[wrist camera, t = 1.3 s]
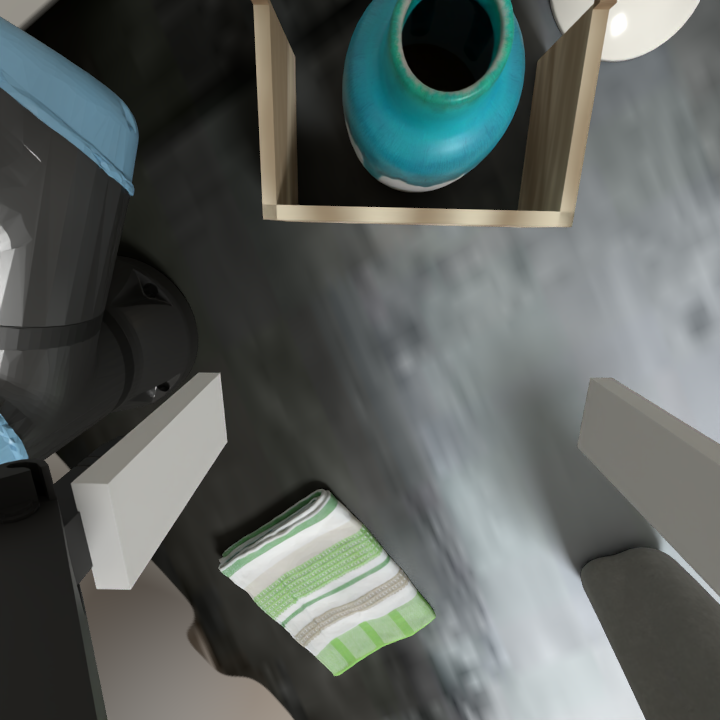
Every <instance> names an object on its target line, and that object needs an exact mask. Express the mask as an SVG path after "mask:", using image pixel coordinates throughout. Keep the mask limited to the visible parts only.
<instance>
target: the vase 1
mask: <svg viewBox="0 0 720 720" xmlns="http://www.w3.org/2000/svg"><path fill="white" fill-rule="evenodd" d="M524 74H525V50H524V44H523V38H522V34H521V30H520V27H519V24H518V21H517V19H516V17H515V15H514V13H513V7H512V4H511V0H373V1H372V2H371V3H370V4H369V5H368V7H367V8H366V10H365V12H364V13H363V15H362V16H361V18H360V20H359V21H358V23H357V26H356V28H355V30H354V33H353V35H352V37H351V40H350V44H349V47H348V51H347V55H346V58H345V65H344V72H343V81H342V100H343V109H344V116H345V123H346V127H347V131H348V134H349V138H350V141H351V144H352V146H353V148H354V150H355V153H356V155H357V157H358V158H359V160H360V161H361V163H362V164H363V166H364V167H365V168H366V170H367V171H368V172H369V173H370V174H371V175H372V176H373V177H374V178H376V179H377V180H378V181H379V182H381V183H382V184H384V185H386V186H388V187H389V188H392V189H395V190H398V191H403V192H408V193H421V192H427V191H432V190H435V189H438V188H441V187H444V186H446V185H448V184H450V183H452V182H454V181H456V180H458V179H459V178H461V177H462V176H464V175H465V174H466V173H468V172H469V171H471V170H472V169H473V168H475V167H476V166H477V165H478V164H479V163H480V162H481V161H482V160H483V159H484V158H485V157H486V156H487V155H488V154H489V153H490V152H491V151H492V150H493V148H494V147H495V146H496V144H497V143H498V142H499V140H500V139H501V138H502V136H503V135H504V133H505V131H506V129H507V128H508V126H509V124H510V122H511V120H512V119H513V116H514V114H515V111H516V109H517V106H518V104H519V100H520V96H521V92H522V88H523V83H524Z"/></svg>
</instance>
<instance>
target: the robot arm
mask: <svg viewBox="0 0 720 720" xmlns="http://www.w3.org/2000/svg"><path fill="white" fill-rule="evenodd" d="M138 137H139V135H138V127H137V124H136V121H135V118H134V116H133V114H132V113H131V111H130V110H129V108H128V107H127V105H126V104H125V103H124V102H123V101H122V100H121V99H120V98H119V97H118V96H117V95H116V94H115V93H114V92H112V91H111V90H110V89H109V88H108V87H106V86H105V85H104V84H102V83H101V82H100V81H98V80H97V79H95V78H94V77H93V76H91V75H90V74H89V73H87V72H86V71H84V70H83V69H81V68H80V67H78V66H77V65H75V64H74V63H72V62H71V61H69V60H68V59H66V58H65V57H63V56H62V55H60V54H59V53H57V52H56V51H54V50H53V49H51V48H49V47H48V46H46V45H45V44H43V43H42V42H40V41H38V40H37V39H35V38H34V37H32V36H31V35H29V34H28V33H26V32H24V31H23V30H21V29H19V28H18V27H16V26H15V25H13V24H11V23H10V22H8V21H6V20H5V19H3V18H2V17H0V720H107V715H106V710H105V705H104V700H103V695H102V690H101V685H100V680H99V675H98V671H97V665H96V661H95V656H94V650H93V645H92V641H91V636H90V631H89V626H88V621H87V616H86V611H85V606H84V601H83V596H82V592H81V588H80V584H79V583H80V582H81V580H82V579H83V578H84V577H85V575H86V574H87V573H88V572H89V570H90V569H91V568H92V572H93V575H94V579H95V584H96V588H97V589H129V590H130V589H131V588H132V587H133V585H134V584H135V582H136V581H137V579H138V578H139V576H140V574H141V573H142V571H143V570H144V568H145V567H146V565H147V564H148V562H149V561H150V559H151V558H152V556H153V555H154V553H155V551H156V550H157V548H158V547H159V545H160V544H161V542H162V541H163V539H164V538H165V536H166V535H167V533H168V532H169V530H170V529H171V527H172V525H173V524H174V522H175V521H176V519H177V518H178V516H179V515H180V513H181V512H182V510H183V509H184V507H185V506H186V504H187V502H188V501H189V499H190V498H191V496H192V495H193V493H194V492H195V490H196V489H197V487H198V486H199V484H200V483H201V481H202V480H203V478H204V476H205V475H206V473H207V472H208V470H209V469H210V467H211V466H212V464H213V463H214V461H215V460H216V458H217V457H218V455H219V453H220V452H221V450H222V449H223V447H224V446H225V444H226V443H227V435H226V425H225V415H224V406H223V396H222V387H221V377H220V373H198V374H197V375H196V376H194V377H193V378H192V379H191V380H190V381H189V382H187V383H186V384H185V385H184V386H183V387H182V388H180V389H179V390H178V391H177V392H176V393H175V394H174V395H172V396H171V397H170V398H169V399H168V400H167V401H165V402H164V403H163V404H162V405H161V406H160V407H158V408H157V409H156V410H155V411H154V412H153V413H152V414H150V415H149V416H148V417H147V418H146V419H145V420H143V421H142V422H141V423H140V424H139V425H138V426H136V427H135V428H134V429H133V430H132V431H131V432H130V433H128V434H127V435H126V436H119V437H117V438H115V439H113V440H111V441H109V442H107V443H105V444H103V445H101V446H100V447H98V448H97V449H96V450H95V451H94V452H92V453H91V454H90V455H89V456H88V458H85V459H84V460H83V461H81V462H80V463H79V464H78V465H77V467H74V468H73V469H72V470H70V471H69V472H68V473H67V474H66V475H64V476H63V477H62V478H61V479H60V480H58V481H57V482H56V483H55V484H53V481H52V477H51V473H50V470H49V466H48V464H47V463H46V462H45V461H44V460H45V459H46V458H48V457H49V456H50V455H52V454H53V453H55V452H56V451H57V450H59V449H60V448H62V447H63V446H65V445H66V444H67V443H69V442H70V441H72V440H73V439H74V438H76V437H77V436H79V435H80V434H81V433H83V432H84V431H86V430H87V429H89V428H90V427H91V426H93V425H94V424H96V423H97V422H98V421H100V420H101V419H103V418H104V417H105V416H107V415H108V414H109V413H111V412H116V411H121V410H127V409H132V408H137V407H142V406H145V405H149V404H151V403H154V402H156V401H158V400H160V399H162V398H163V397H165V396H166V395H168V394H169V393H170V392H171V391H173V390H174V389H175V388H176V387H178V386H179V385H180V384H181V383H182V382H183V381H184V380H185V378H186V377H187V376H188V374H189V373H190V371H191V369H192V367H193V365H194V362H195V359H196V355H197V349H198V333H197V327H196V322H195V319H194V316H193V313H192V311H191V308H190V306H189V304H188V303H187V301H186V299H185V298H184V296H183V295H182V293H181V292H180V291H179V289H178V288H177V287H176V286H175V285H174V284H173V283H172V282H171V281H170V280H169V279H168V278H167V277H166V276H165V275H163V274H162V273H161V272H159V271H158V270H156V269H155V268H153V267H151V266H150V265H148V264H146V263H143V262H141V261H139V260H136V259H133V258H129V257H124V256H117V252H118V248H119V243H120V239H121V234H122V230H123V225H124V221H125V217H126V212H127V208H128V203H129V199H130V195H131V196H133V194H134V187H133V184H132V177H133V171H134V165H135V158H136V152H137V146H138ZM577 448H578V449H579V450H580V451H581V452H582V453H583V454H584V455H585V456H586V457H587V458H588V459H589V460H590V461H591V462H592V463H593V464H594V465H595V466H596V467H597V469H598V470H599V471H600V472H601V473H602V474H603V475H604V476H605V477H606V478H607V479H608V480H609V481H610V482H611V483H612V484H613V485H614V486H615V487H616V488H617V489H618V491H619V492H620V493H621V494H622V495H623V496H624V497H625V498H626V499H627V500H628V501H629V502H630V503H631V504H632V505H633V506H634V507H635V508H636V509H637V510H638V512H639V513H640V514H641V515H642V516H643V517H644V518H645V519H646V520H647V521H648V522H649V523H650V524H651V525H652V526H653V527H654V528H655V529H656V530H657V531H658V532H659V534H660V535H661V536H662V537H663V538H664V539H665V540H666V541H667V542H668V543H669V544H670V545H671V546H672V547H673V548H674V549H675V550H676V551H677V552H678V553H679V555H680V556H681V557H682V558H683V559H684V560H685V561H686V562H687V563H688V564H689V565H690V566H691V567H692V568H693V569H694V570H695V571H696V572H697V573H698V574H699V575H700V577H701V578H702V579H703V580H704V581H705V582H706V583H707V584H708V585H709V586H710V587H711V588H712V589H713V590H714V591H715V592H716V593H717V594H718V595H719V596H720V444H718V443H717V442H715V441H714V440H712V439H710V438H709V437H707V436H705V435H704V434H702V433H701V432H699V431H697V430H696V429H694V428H692V427H691V426H689V425H688V424H686V423H684V422H683V421H681V420H680V419H678V418H676V417H675V416H673V415H671V414H670V413H668V412H667V411H665V410H663V409H662V408H660V407H658V406H657V405H655V404H654V403H652V402H650V401H649V400H647V399H645V398H644V397H642V396H641V395H639V394H637V393H636V392H634V391H632V390H631V389H629V388H628V387H626V386H624V385H623V384H621V383H619V382H618V381H616V380H615V379H613V378H590V382H589V387H588V392H587V398H586V403H585V408H584V413H583V418H582V423H581V429H580V434H579V439H578V444H577Z"/></svg>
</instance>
